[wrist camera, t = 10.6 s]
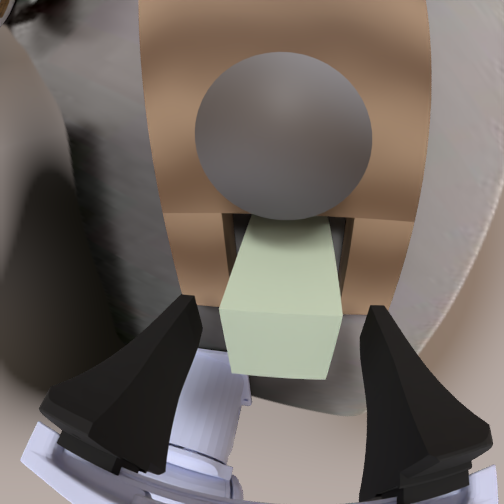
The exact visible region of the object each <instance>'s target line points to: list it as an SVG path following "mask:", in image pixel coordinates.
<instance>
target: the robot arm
mask: <svg viewBox="0 0 504 504" xmlns="http://www.w3.org/2000/svg"><path fill="white" fill-rule="evenodd" d="M202 329H203V327H202V323H201V319H200V316H199V312H198V307H197V303H196V299H195V296H194V295H184V294H181V295H180V296H179V297H178V298H177V299H176V300H175V301H174V302H173V303H172V304H171V305H170V306H169V307H168V308H167V309H166V310H165V311H164V312H163V313H162V314H161V315H160V316H159V317H158V318H157V319H155V320H154V321H153V322H152V323H151V324H150V325H149V326H148V327H147V328H146V329H145V330H144V331H143V332H142V333H140V334H139V335H138V336H137V337H136V338H135V339H133V340H132V341H131V342H130V343H129V344H127V345H126V346H125V347H124V348H122V349H121V350H120V351H118V352H117V353H115V354H114V355H113V356H111V357H110V358H108V359H106V360H105V361H103V362H102V363H100V364H98V365H97V366H95V367H93V368H92V369H90V370H88V371H86V372H84V373H82V374H80V375H78V376H76V377H74V378H72V379H70V380H67V381H65V382H62V383H59V384H57V385H54V386H51V387H50V389H49V391H48V393H47V394H46V397H45V398H44V400H43V402H42V404H41V405H40V407H39V410H40V412H41V413H42V414H43V415H44V416H45V417H46V418H48V419H49V420H50V421H51V422H53V423H54V424H55V425H56V426H58V427H59V428H60V429H61V430H62V433H61V434H59V433H57V432H55V431H54V430H52V429H51V428H49V427H48V426H46V425H45V424H43V423H42V422H40V421H39V422H38V423H37V425H36V427H35V429H34V431H33V433H32V435H31V437H30V440H29V442H28V444H27V446H26V449H25V450H24V453H23V455H22V457H21V462H22V463H23V464H24V465H26V466H27V467H28V468H29V469H30V470H32V471H33V472H34V473H35V474H36V475H38V476H39V477H40V478H41V479H43V480H44V481H45V482H46V483H47V484H49V485H50V486H51V487H52V488H53V489H55V490H56V491H57V492H58V493H60V494H61V495H62V496H63V497H65V498H66V499H67V500H68V501H70V502H71V503H72V504H271V503H260V502H252V501H244V500H243V490H242V486H241V485H240V483H239V481H238V479H237V477H236V476H234V475H232V470H233V467H231V466H227V461H228V456H229V455H230V453H231V451H232V448H233V443H234V439H235V434H236V429H237V424H238V420H239V415H240V411H241V406H242V405H245V406H250V405H251V403H252V399H251V391H250V382H249V375H244V374H235V373H232V372H231V367H230V362H229V357H228V352H223V351H215V350H208V349H200V348H198V346H199V342H200V338H201V333H202ZM360 359H361V366H362V373H363V380H364V388H365V395H366V404H367V440H366V454H365V463H364V471H363V477H362V483H361V489H360V493H359V502H358V503H348V504H498V488H497V476H496V467H495V465H494V464H493V465H491V466H489V467H486V468H484V469H482V470H480V471H477V472H475V473H472V474H470V475H469V473H468V470H469V469H471V468H472V463H471V460H473V459H475V458H477V457H478V456H480V455H482V454H483V453H485V452H486V451H488V450H489V449H490V448H491V447H492V445H493V441H492V436H491V430H490V427H489V424H487V423H486V422H485V421H483V420H482V419H480V418H479V417H478V416H476V415H475V414H473V413H472V412H471V411H470V410H469V409H467V408H466V407H465V406H464V405H463V404H461V403H460V402H459V401H458V400H457V399H456V398H455V397H454V396H453V395H452V394H451V393H450V392H449V391H448V390H447V389H446V388H445V387H444V386H443V385H442V384H441V383H440V382H439V381H438V380H437V379H436V377H435V376H434V375H433V374H432V373H431V372H430V371H429V369H428V368H427V367H426V365H425V364H424V363H423V362H422V360H421V359H420V357H419V356H418V355H417V353H416V352H415V351H414V349H413V348H412V346H411V345H410V343H409V342H408V341H407V339H406V338H405V336H404V335H403V333H402V332H401V330H400V329H399V327H398V326H397V324H396V322H395V321H394V319H393V318H392V316H391V315H390V313H389V312H388V310H387V309H386V307H385V306H384V305H370V307H369V311H368V314H367V317H366V320H365V323H364V326H363V329H362V332H361V335H360Z"/></svg>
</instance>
